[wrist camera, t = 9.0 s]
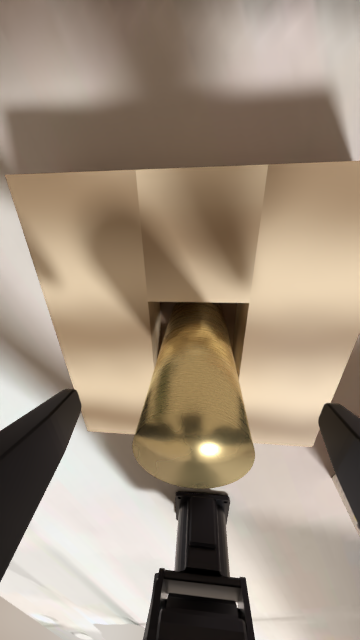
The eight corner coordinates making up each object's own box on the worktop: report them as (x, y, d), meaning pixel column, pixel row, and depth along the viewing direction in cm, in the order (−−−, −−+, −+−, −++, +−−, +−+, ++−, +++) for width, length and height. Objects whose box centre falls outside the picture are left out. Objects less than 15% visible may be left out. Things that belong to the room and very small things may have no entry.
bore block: (290, 401, 18) (312, 447, 15) (108, 391, 20) (87, 431, 16) (357, 175, 11) (432, 157, 7) (61, 185, 12) (4, 174, 9)
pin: (222, 343, 15) (246, 493, 7) (171, 341, 15) (138, 483, 7) (226, 294, 13) (264, 417, 5) (169, 293, 14) (124, 408, 6)
